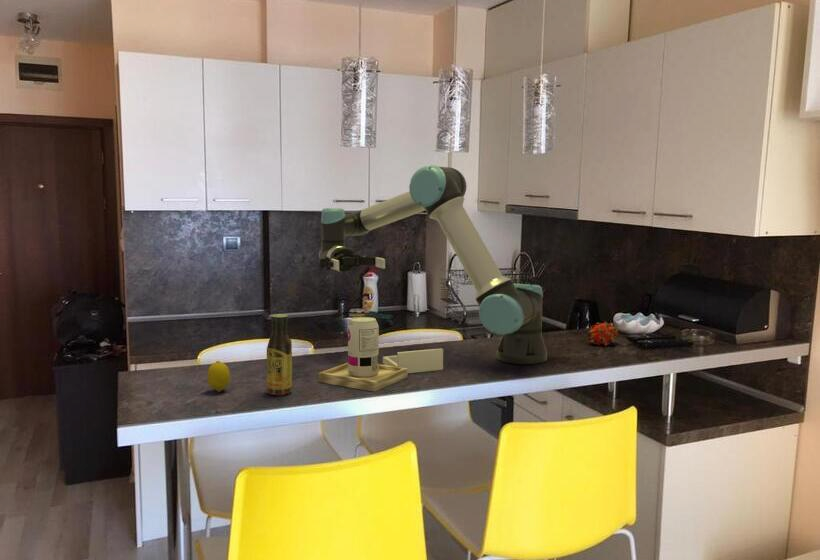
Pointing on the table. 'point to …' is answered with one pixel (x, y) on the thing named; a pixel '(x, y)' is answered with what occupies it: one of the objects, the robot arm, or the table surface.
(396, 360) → the dock
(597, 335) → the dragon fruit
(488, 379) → the table surface
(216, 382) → the lemon
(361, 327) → the supplement can
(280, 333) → the sauce bottle
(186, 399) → the table surface
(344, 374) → the tray
